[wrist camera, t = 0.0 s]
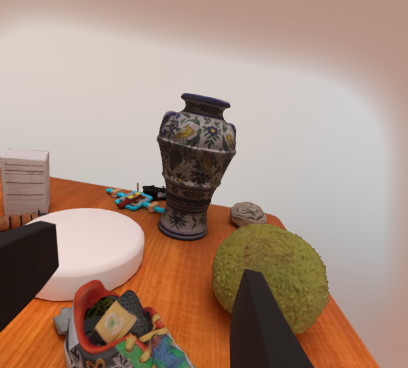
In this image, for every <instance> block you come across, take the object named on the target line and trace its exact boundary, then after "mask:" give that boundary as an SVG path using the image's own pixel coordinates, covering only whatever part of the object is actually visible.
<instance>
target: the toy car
mask: <svg viewBox="0 0 408 368" xmlns="http://www.w3.org/2000/svg"><path fill="white" fill-rule="evenodd" d="M162 187H163V188H158V187H155V186H154V185H152V186H143V193H144V194H146V195H149V196H152V199H155V198H156V199H166V195H165V194H166V188H164V186H162ZM153 197H154V198H153Z"/></svg>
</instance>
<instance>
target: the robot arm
mask: <svg viewBox="0 0 408 368" xmlns="http://www.w3.org/2000/svg"><path fill="white" fill-rule="evenodd" d="M58 267H59V258H58V245H57V232H56V224H53V223H49V222H45V221H37V222H33V223H30V224H27V225H23V226H20V227H17V228H14V229H11V230H8V231H5V232H2V233H0V332H1V331H2V330H3V329H4V328H5V327H6V326H7V325H8V324H9V323H10V322H11V321H12V320H13V319H14V318H15V317H16V316H17V315H18V314H19V313H20V312H21V311H22V310H23V309H24V308H25V307H26V306H27V305H28V304H29V303H30V301H31V300H32V299H33V298H34V297H35V296H36V295H37V294H38V293H39V292H40V291H41V290H42V288H43V287H44V286H45V285H46V283H47V282H48V281H49V279H50V278H51V277H52V275H53V274H54V273H55V271H56V270H57V269H58ZM230 368H314V367H313V365H312V363H311V362H310V360H309V358H308V357H307V355H306V354H305V352H304V350H303V349H302V347H301V345H300V344H299V342H298V340H297V338H296V337H295V335H294V333H293V331H292V330H291V328H290V326H289V324H288V322H287V321H286V319H285V317H284V315H283V313H282V311H281V309H280V308H279V306H278V304H277V302H276V300H275V298H274V296H273V294H272V292H271V290H270V288H269V286H268V284H267V282H266V280H265V278H264V276H263V274H262V272H258V271H254V270H249V269H244V272H243V275H242V279H241V282H240V285H239V288H238V291H237V294H236V298H235V301H234V304H233V307H232V314H231V328H230Z"/></svg>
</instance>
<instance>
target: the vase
mask: <svg viewBox="0 0 408 368" xmlns="http://www.w3.org/2000/svg"><path fill="white" fill-rule="evenodd" d="M181 98H182V99H183V100H184V101H185V103H186V107H185V109H184V110H182V111H181V112H174V111H168V112H167V113H166V114H165V115H164V117H163V120H162V124H161V127H160V131H159V135H158V137H157V141H158V143H159V147H160V151H161V157H162V164H163V172H162V175H163V177H164V178H165V183H166V194H165V195H166V207H165V210H164V212H163V214H162V216H161V219H160V220H159V222H158V228H159V230H160V231H161V232H162V233H163V234H165V235H167V236H169V237H171V238H174V239H179V240H197V239H200V238H202V237H204V236H205V235H206V234H207V209H208V206H209V204H210V203H211V198H212V195H213V193H214V191H215V190H216V188H217V187H218V186H219V185H220V184H221V179H222V177H223V175H224V173H225V171H226V169H227V167H228V165H229V163H230V161H231V160H232V158H233V156H234V155H235V154H236V150H235V146H236V141H235V139H236V129H235V126H234V125H233V124H231V123H227V122H226V121H225V120H224V118H223V111H224V110H225V109H226V108H230V104H229V103H228V102H227V101H224V100H220V99H216V98H211V97H207V96H202V95H196V94H189V93H184V94H182V96H181Z"/></svg>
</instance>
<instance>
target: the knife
mask: <svg viewBox="0 0 408 368" xmlns="http://www.w3.org/2000/svg"><path fill="white" fill-rule="evenodd" d="M48 214H50V213H48ZM44 215H47V213H41V212H40V210H38V214H31V215H29V214H23V215H21V216H19V215H11V216H10V217H8V216H2V217H0V231H5V230H9V229H14V228H17V227H20V226H23V225H25V224H27V223H29V222H31V221H32V220H34V219H36V218H38V217H41V216H44Z"/></svg>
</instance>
